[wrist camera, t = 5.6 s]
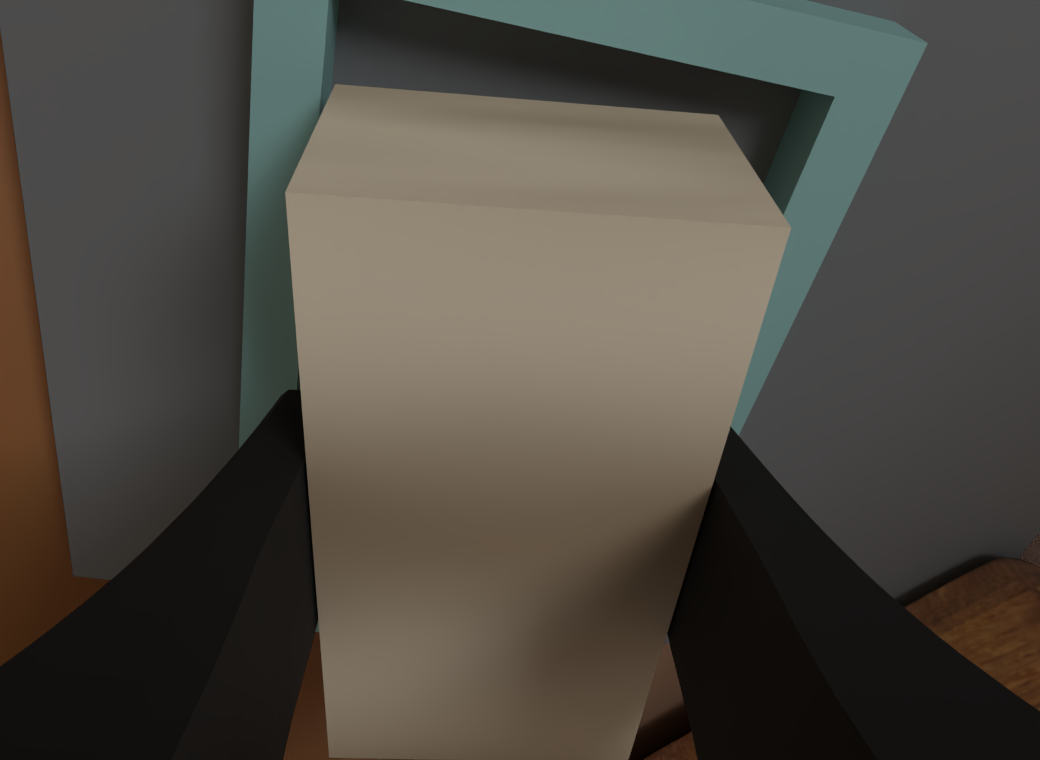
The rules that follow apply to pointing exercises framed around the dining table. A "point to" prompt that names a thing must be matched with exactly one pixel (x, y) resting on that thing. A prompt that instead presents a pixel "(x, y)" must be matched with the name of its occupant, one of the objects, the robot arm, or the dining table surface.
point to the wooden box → (972, 630)
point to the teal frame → (621, 24)
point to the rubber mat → (558, 78)
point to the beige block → (513, 406)
